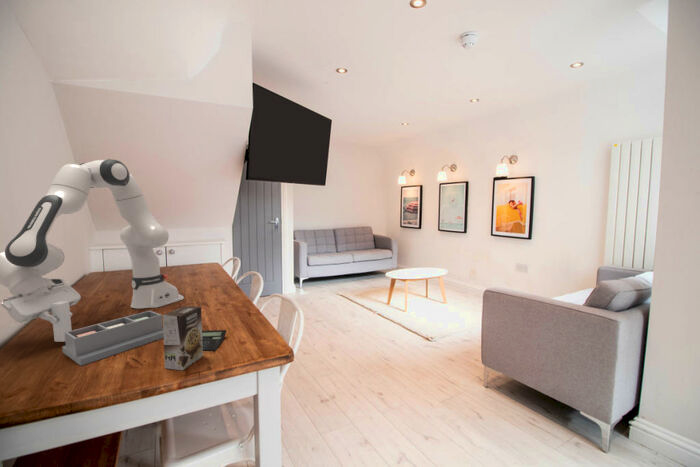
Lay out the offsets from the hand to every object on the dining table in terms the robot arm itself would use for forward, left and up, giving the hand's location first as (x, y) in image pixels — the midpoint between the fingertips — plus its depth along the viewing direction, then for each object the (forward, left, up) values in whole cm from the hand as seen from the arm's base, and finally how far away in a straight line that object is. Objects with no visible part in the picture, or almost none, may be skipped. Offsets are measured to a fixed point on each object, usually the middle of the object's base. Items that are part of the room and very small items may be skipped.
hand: (63, 319), depth 107 cm
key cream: (-10, +15, -5) cm, 19 cm away
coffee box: (-15, +47, -9) cm, 51 cm away
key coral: (-2, +15, -5) cm, 16 cm away
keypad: (-10, +15, -9) cm, 20 cm away
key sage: (-18, +15, -5) cm, 24 cm away
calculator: (-26, +41, -9) cm, 50 cm away
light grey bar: (0, -1, -7) cm, 7 cm away
